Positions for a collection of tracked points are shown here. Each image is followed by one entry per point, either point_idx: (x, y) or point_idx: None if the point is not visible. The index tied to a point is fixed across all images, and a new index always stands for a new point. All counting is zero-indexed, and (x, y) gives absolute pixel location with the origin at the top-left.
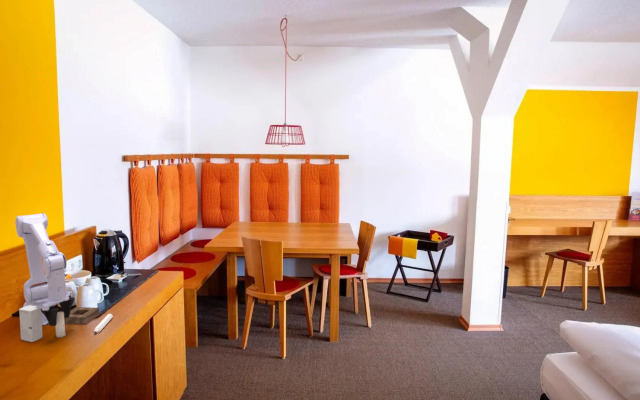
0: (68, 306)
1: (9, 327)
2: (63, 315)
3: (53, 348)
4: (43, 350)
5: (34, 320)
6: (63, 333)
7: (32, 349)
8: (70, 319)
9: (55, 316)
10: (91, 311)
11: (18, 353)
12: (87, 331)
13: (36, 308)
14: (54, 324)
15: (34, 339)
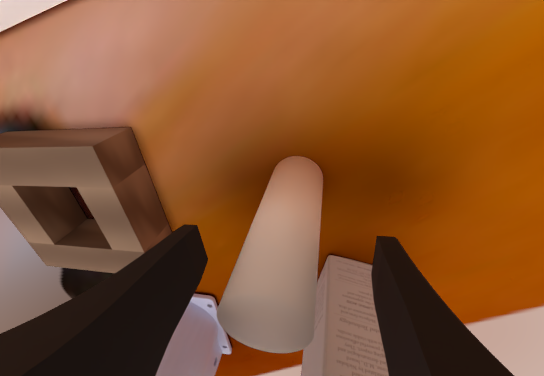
0: (115, 321)
1: (259, 367)
2: (256, 266)
3: (514, 106)
4: (534, 158)
5: None
6: (303, 166)
7: (492, 229)
8: (146, 226)
9: (457, 339)
10: (15, 163)
11: (535, 268)
12: (201, 34)
13: None
14: (404, 252)
15: None
